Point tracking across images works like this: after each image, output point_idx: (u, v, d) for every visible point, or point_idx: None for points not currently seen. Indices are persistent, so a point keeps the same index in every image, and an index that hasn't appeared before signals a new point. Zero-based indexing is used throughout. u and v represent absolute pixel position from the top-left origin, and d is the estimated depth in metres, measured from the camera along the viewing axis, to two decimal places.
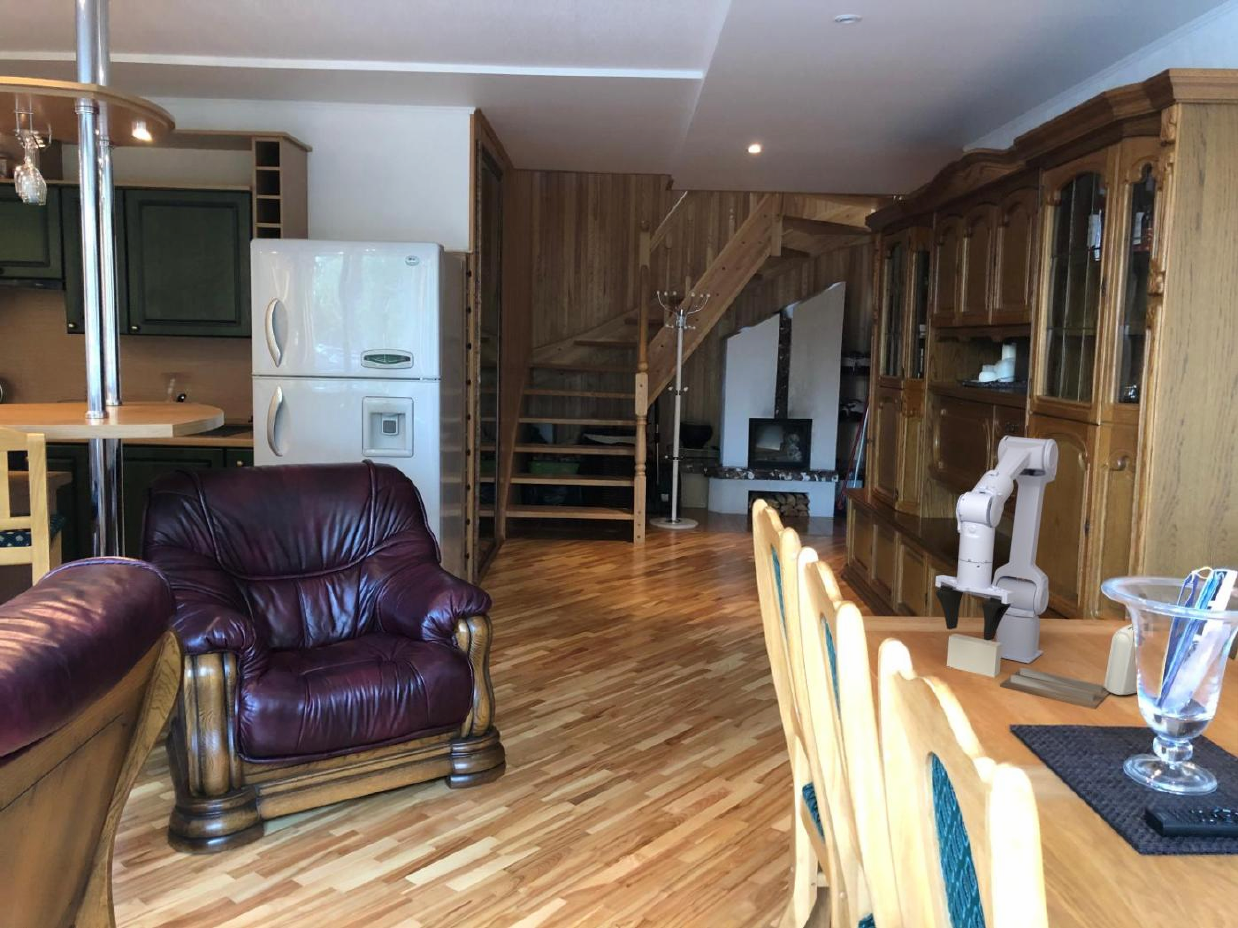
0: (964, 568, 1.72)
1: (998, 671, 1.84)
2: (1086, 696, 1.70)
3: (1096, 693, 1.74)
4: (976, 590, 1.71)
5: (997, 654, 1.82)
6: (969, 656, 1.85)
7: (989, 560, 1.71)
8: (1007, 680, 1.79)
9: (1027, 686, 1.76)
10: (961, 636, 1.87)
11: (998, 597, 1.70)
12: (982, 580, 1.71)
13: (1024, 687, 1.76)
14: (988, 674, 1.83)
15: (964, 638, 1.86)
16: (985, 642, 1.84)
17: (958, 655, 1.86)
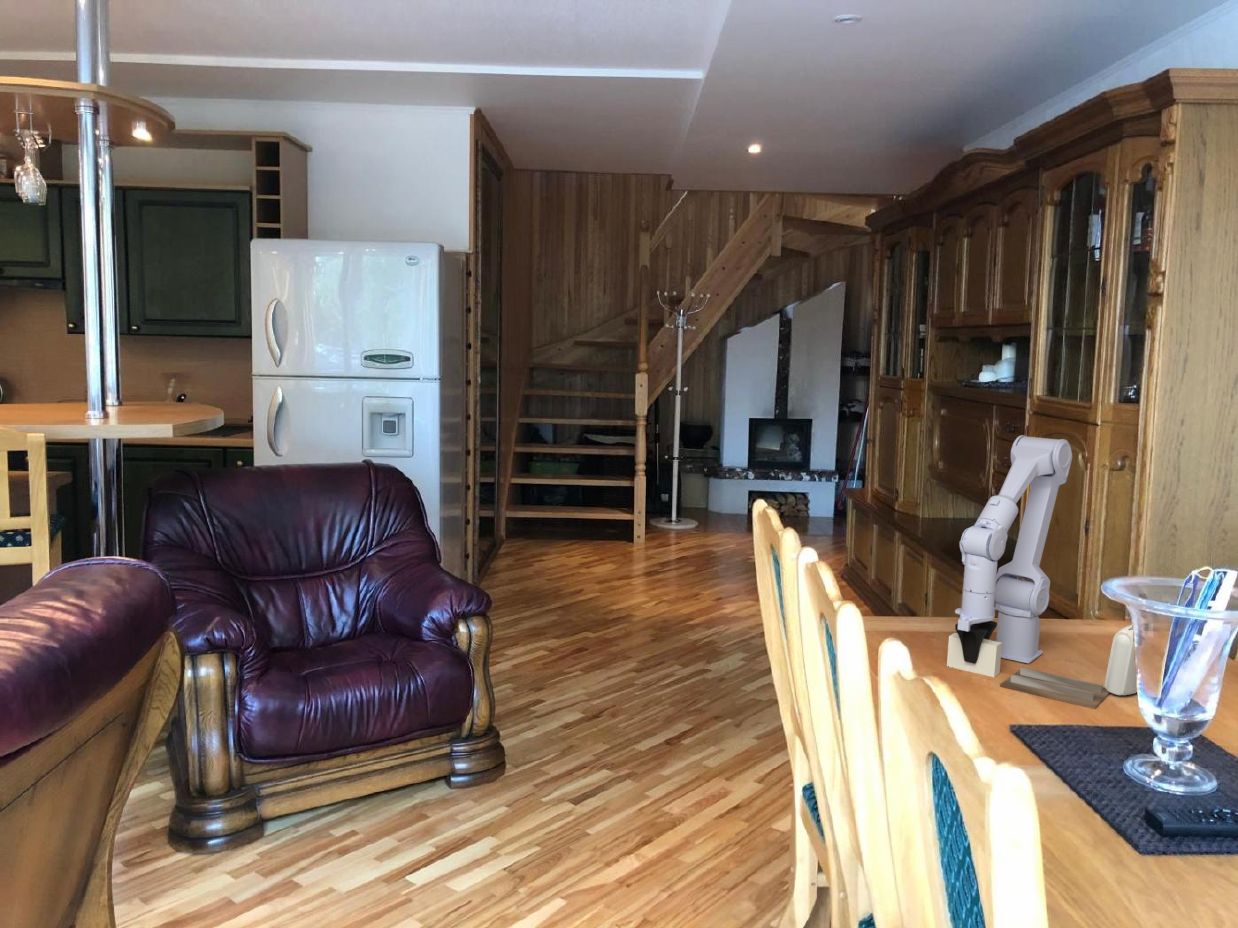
0: None
1: (998, 671, 1.84)
2: (1086, 696, 1.70)
3: (1096, 693, 1.74)
4: (959, 614, 1.85)
5: (997, 653, 1.82)
6: None
7: (990, 591, 1.82)
8: (1007, 680, 1.79)
9: (1027, 686, 1.76)
10: None
11: None
12: (966, 607, 1.83)
13: (1024, 687, 1.76)
14: (988, 673, 1.83)
15: None
16: (986, 641, 1.84)
17: (958, 654, 1.86)
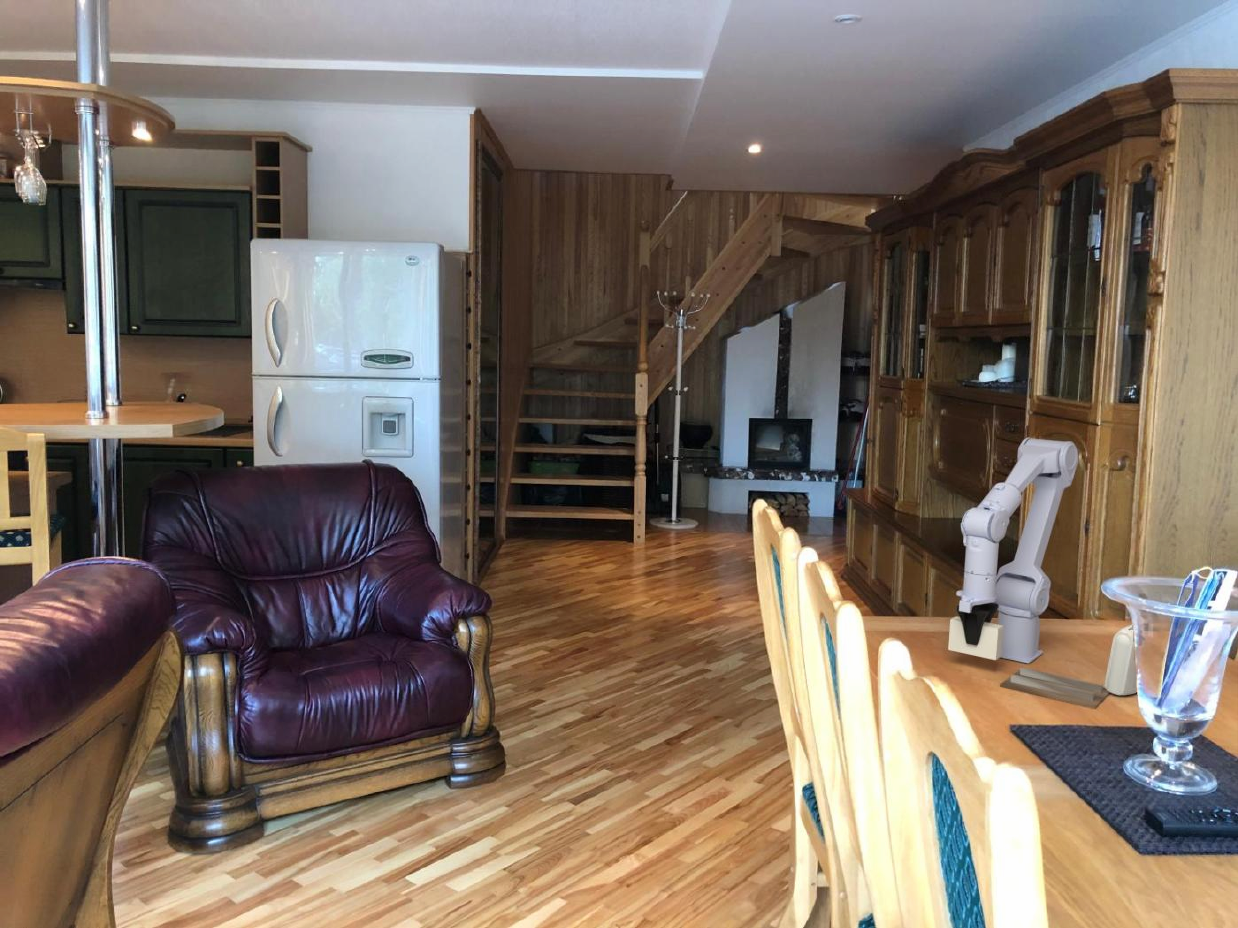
0: None
1: (999, 654, 1.83)
2: (1086, 696, 1.70)
3: (1096, 693, 1.74)
4: (961, 596, 1.84)
5: (999, 636, 1.82)
6: None
7: (991, 573, 1.81)
8: (1007, 680, 1.79)
9: (1027, 686, 1.76)
10: None
11: None
12: (967, 589, 1.83)
13: (1024, 687, 1.76)
14: (990, 656, 1.82)
15: None
16: (987, 624, 1.84)
17: (960, 637, 1.86)
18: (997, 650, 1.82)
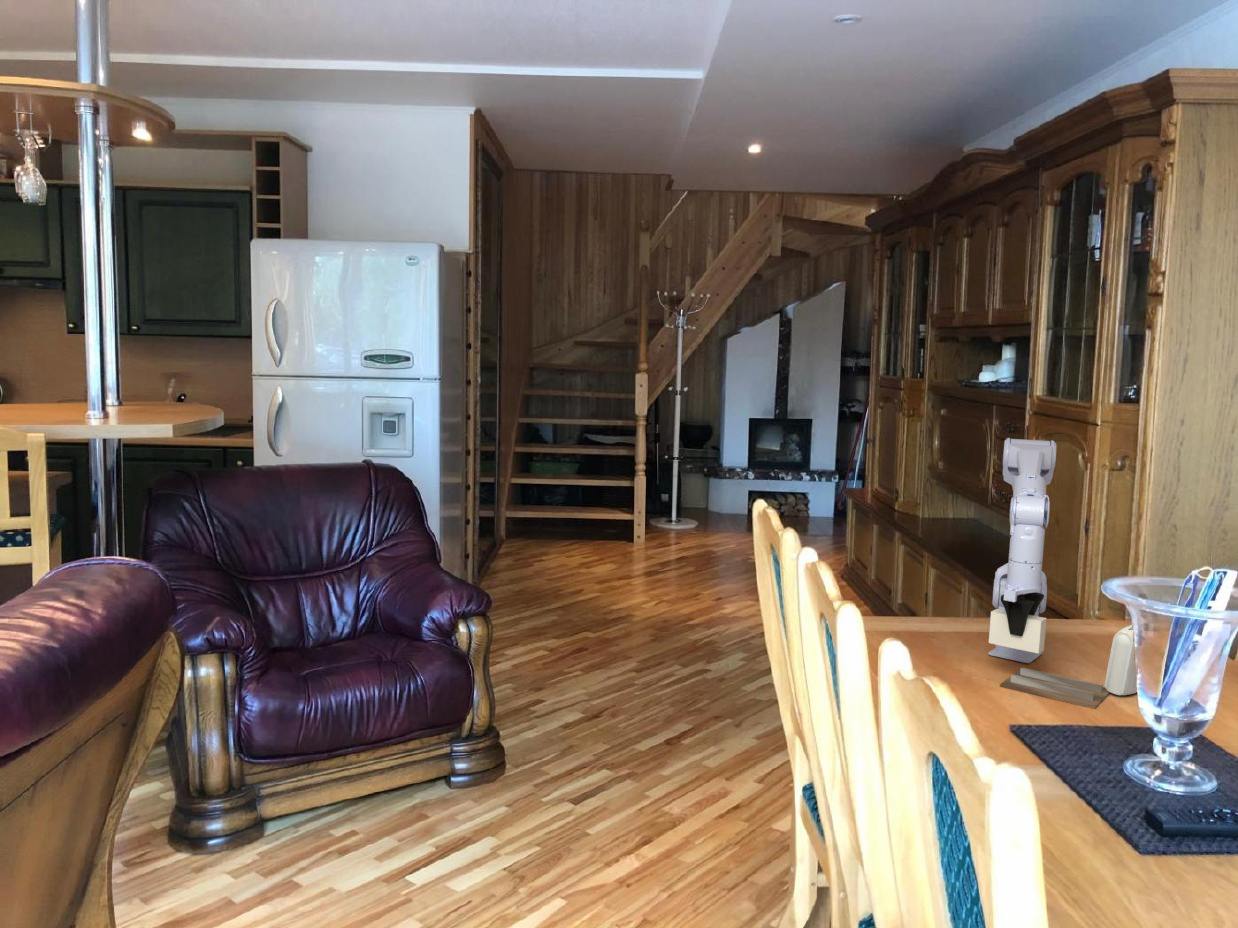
0: None
1: (1042, 647, 1.78)
2: (1086, 696, 1.70)
3: (1096, 693, 1.74)
4: (1005, 585, 1.79)
5: (1041, 629, 1.77)
6: None
7: (1041, 560, 1.77)
8: (1007, 680, 1.79)
9: (1027, 686, 1.76)
10: (1004, 612, 1.82)
11: None
12: (1012, 577, 1.78)
13: (1024, 687, 1.76)
14: (1032, 650, 1.77)
15: None
16: (1029, 617, 1.78)
17: (1001, 630, 1.81)
18: (1040, 643, 1.77)
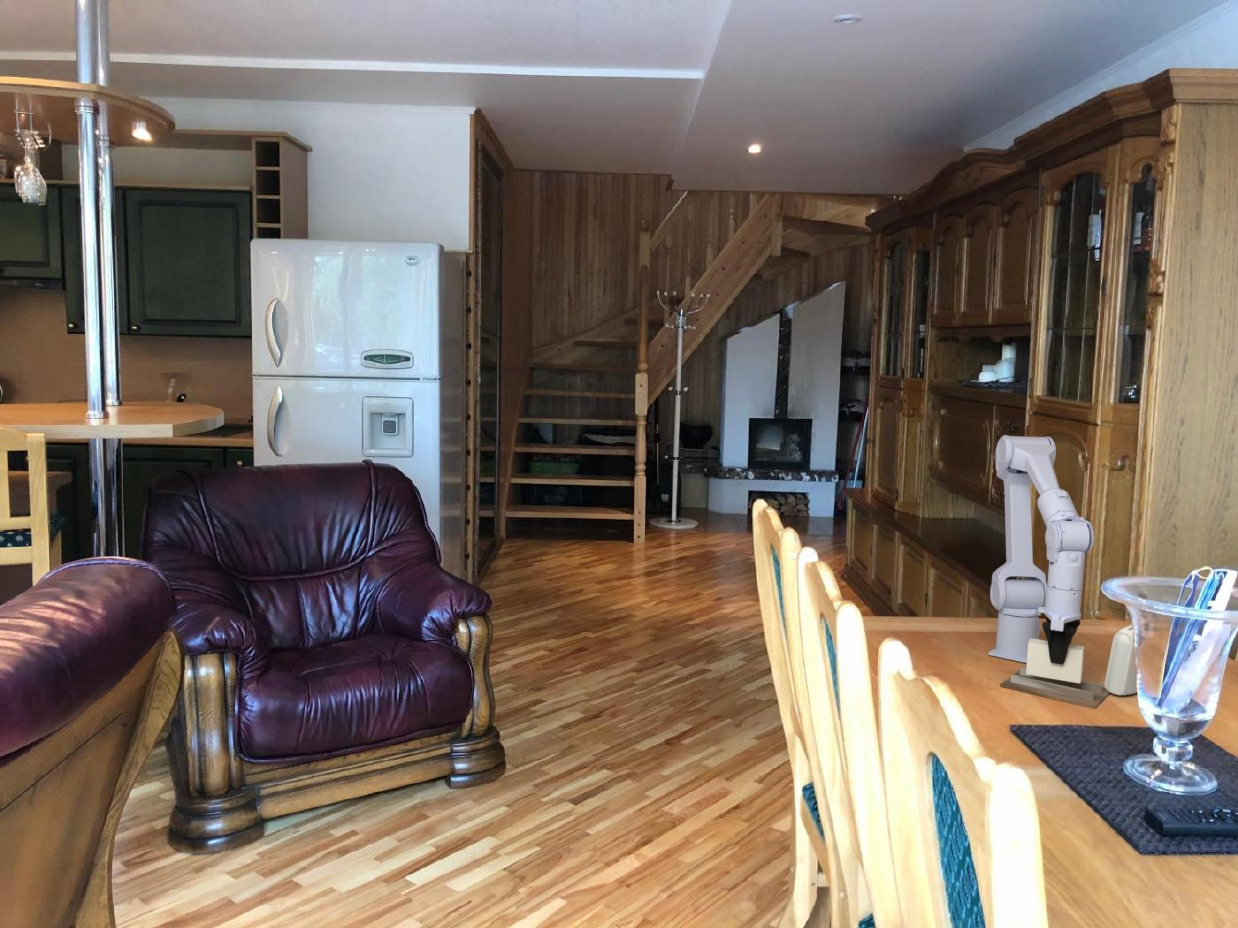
0: None
1: (1081, 676, 1.75)
2: (1086, 696, 1.70)
3: (1096, 693, 1.74)
4: (1045, 613, 1.74)
5: (1082, 658, 1.73)
6: None
7: None
8: (1007, 680, 1.79)
9: (1027, 686, 1.76)
10: (1040, 641, 1.77)
11: None
12: (1053, 605, 1.73)
13: (1024, 687, 1.76)
14: (1073, 680, 1.74)
15: (1044, 643, 1.76)
16: None
17: (1039, 661, 1.76)
18: (1081, 673, 1.73)
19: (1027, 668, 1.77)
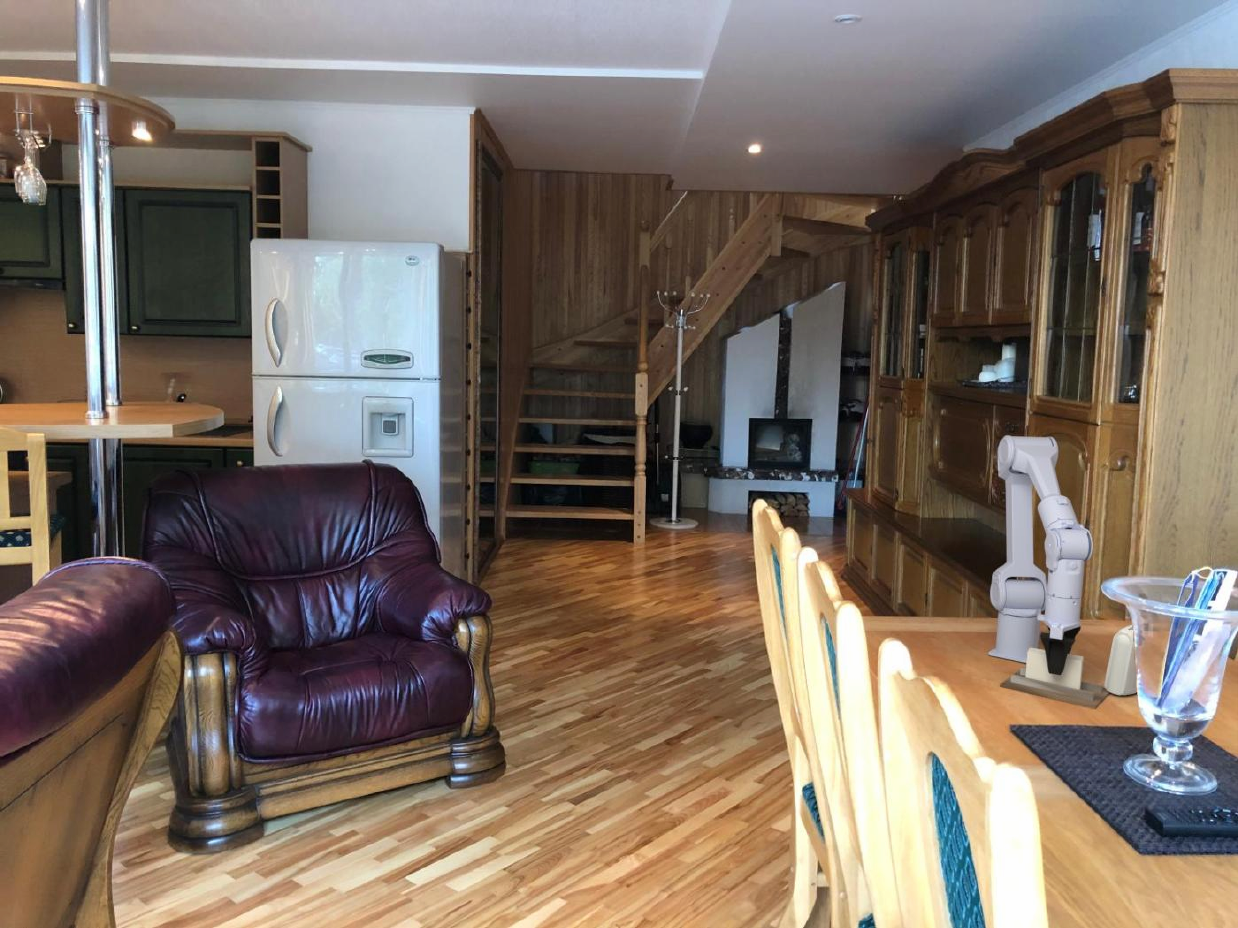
0: None
1: (1080, 686, 1.75)
2: (1086, 696, 1.70)
3: (1096, 693, 1.74)
4: (1045, 621, 1.75)
5: (1081, 668, 1.74)
6: None
7: None
8: (1007, 680, 1.79)
9: (1027, 686, 1.76)
10: (1039, 651, 1.78)
11: None
12: (1053, 613, 1.73)
13: (1024, 687, 1.76)
14: None
15: (1043, 652, 1.77)
16: (1067, 656, 1.75)
17: (1038, 670, 1.77)
18: (1080, 683, 1.74)
19: None
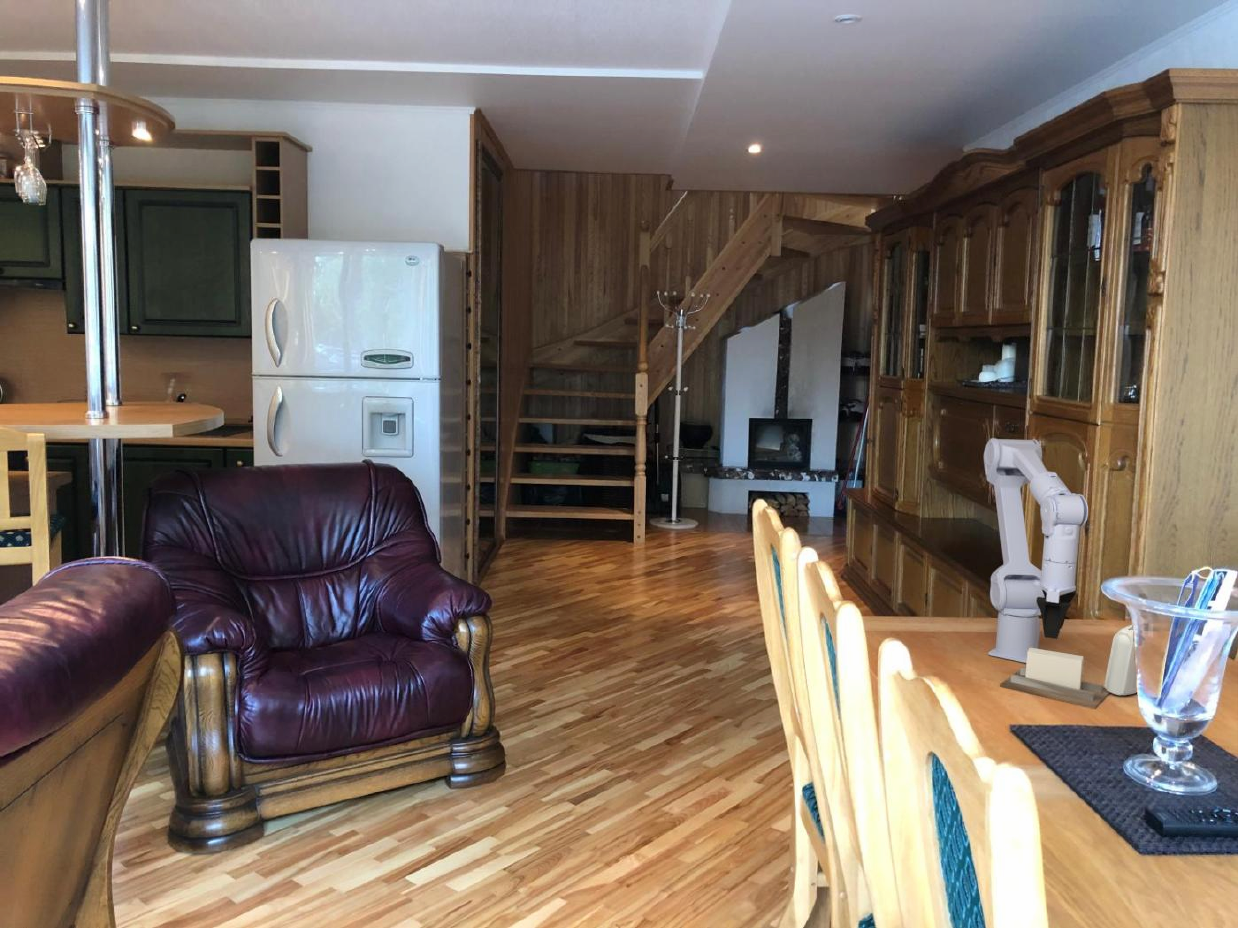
0: None
1: (1080, 686, 1.75)
2: (1086, 696, 1.70)
3: (1096, 693, 1.74)
4: (1041, 586, 1.77)
5: (1081, 668, 1.74)
6: (1051, 671, 1.75)
7: None
8: (1007, 680, 1.79)
9: (1027, 686, 1.76)
10: (1039, 651, 1.78)
11: None
12: (1049, 578, 1.76)
13: (1024, 687, 1.76)
14: None
15: (1043, 652, 1.77)
16: (1067, 656, 1.75)
17: (1038, 670, 1.77)
18: (1080, 683, 1.74)
19: None
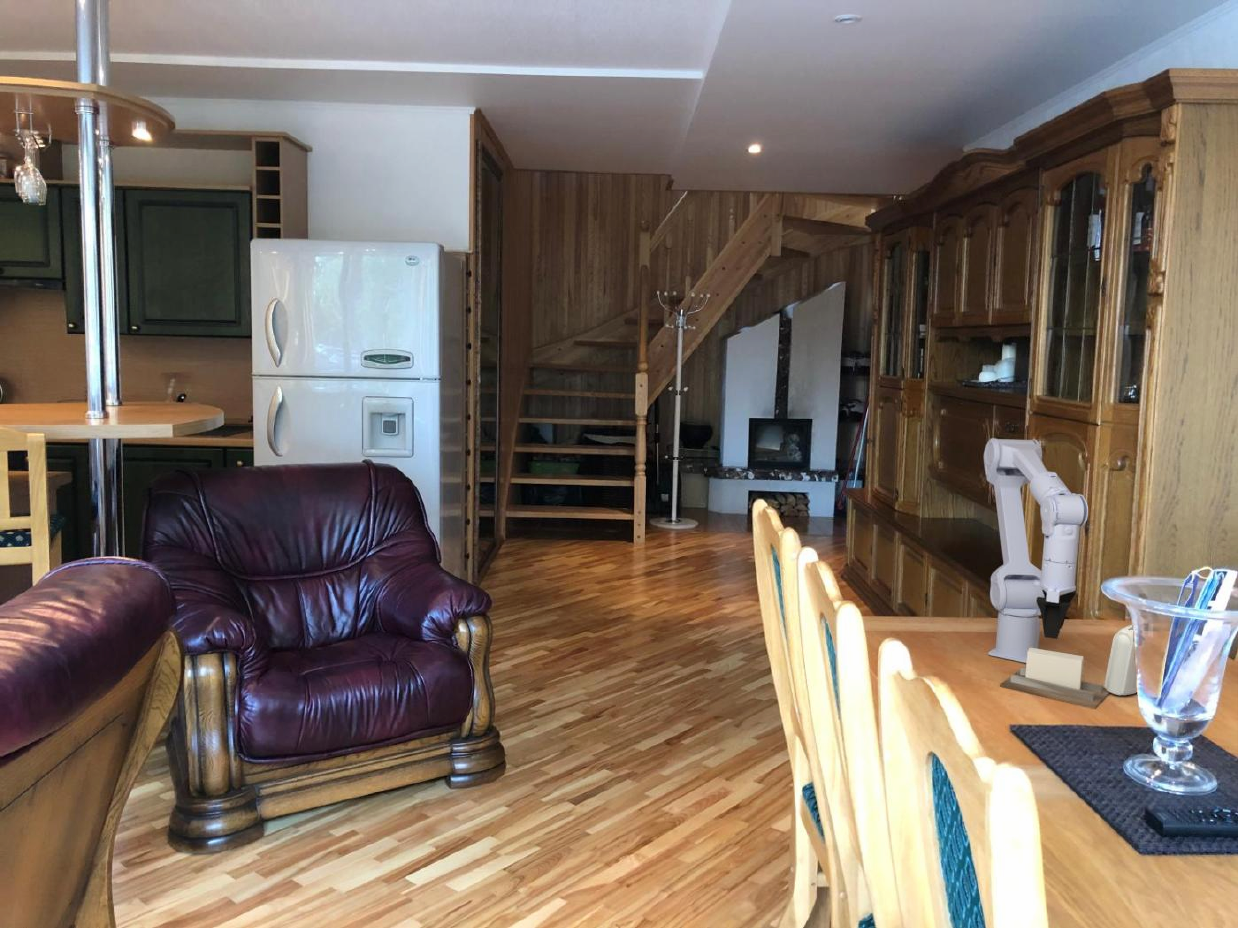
0: None
1: (1080, 686, 1.75)
2: (1086, 696, 1.70)
3: (1096, 693, 1.74)
4: (1041, 586, 1.77)
5: (1081, 668, 1.74)
6: (1051, 671, 1.75)
7: None
8: (1007, 680, 1.79)
9: (1027, 686, 1.76)
10: (1039, 651, 1.78)
11: None
12: (1049, 578, 1.76)
13: (1024, 687, 1.76)
14: None
15: (1043, 652, 1.77)
16: (1067, 656, 1.75)
17: (1038, 670, 1.77)
18: (1080, 683, 1.74)
19: None
